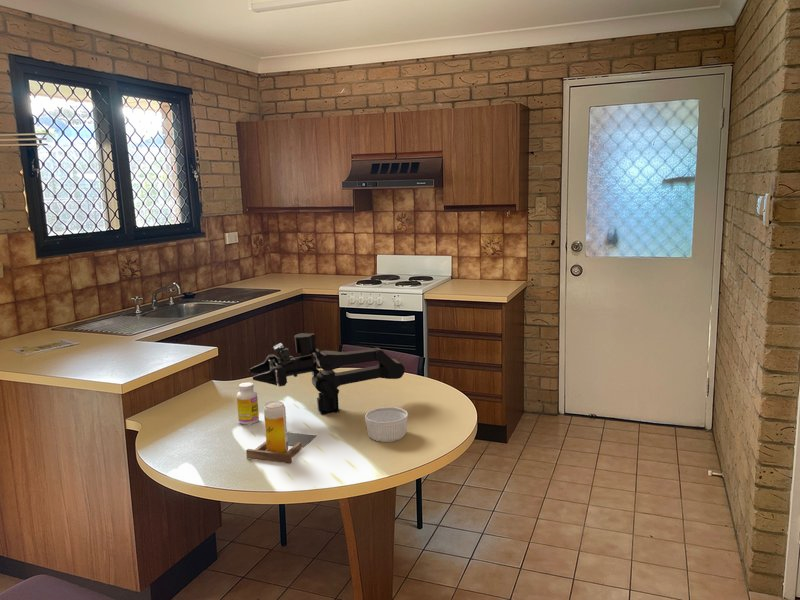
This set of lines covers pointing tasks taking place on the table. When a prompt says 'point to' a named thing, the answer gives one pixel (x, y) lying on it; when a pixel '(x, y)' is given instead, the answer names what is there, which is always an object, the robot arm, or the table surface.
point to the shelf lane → (273, 454)
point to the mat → (299, 438)
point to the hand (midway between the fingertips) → (250, 374)
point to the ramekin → (386, 423)
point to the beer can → (276, 427)
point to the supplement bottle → (247, 404)
